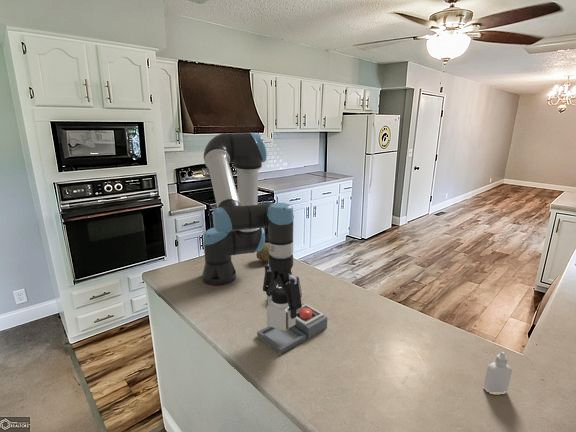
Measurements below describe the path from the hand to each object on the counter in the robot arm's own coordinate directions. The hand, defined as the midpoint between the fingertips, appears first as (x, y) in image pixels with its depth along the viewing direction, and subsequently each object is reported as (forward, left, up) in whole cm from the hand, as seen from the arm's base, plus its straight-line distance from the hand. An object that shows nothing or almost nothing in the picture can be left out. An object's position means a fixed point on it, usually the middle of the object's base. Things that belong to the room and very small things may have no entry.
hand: (281, 318), depth 105 cm
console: (0, +5, -7) cm, 9 cm away
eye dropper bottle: (+54, +29, -8) cm, 62 cm away
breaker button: (0, +11, -5) cm, 12 cm away
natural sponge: (-52, +34, -8) cm, 62 cm away
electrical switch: (-18, +20, -8) cm, 28 cm away
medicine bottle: (0, 0, -2) cm, 2 cm away
